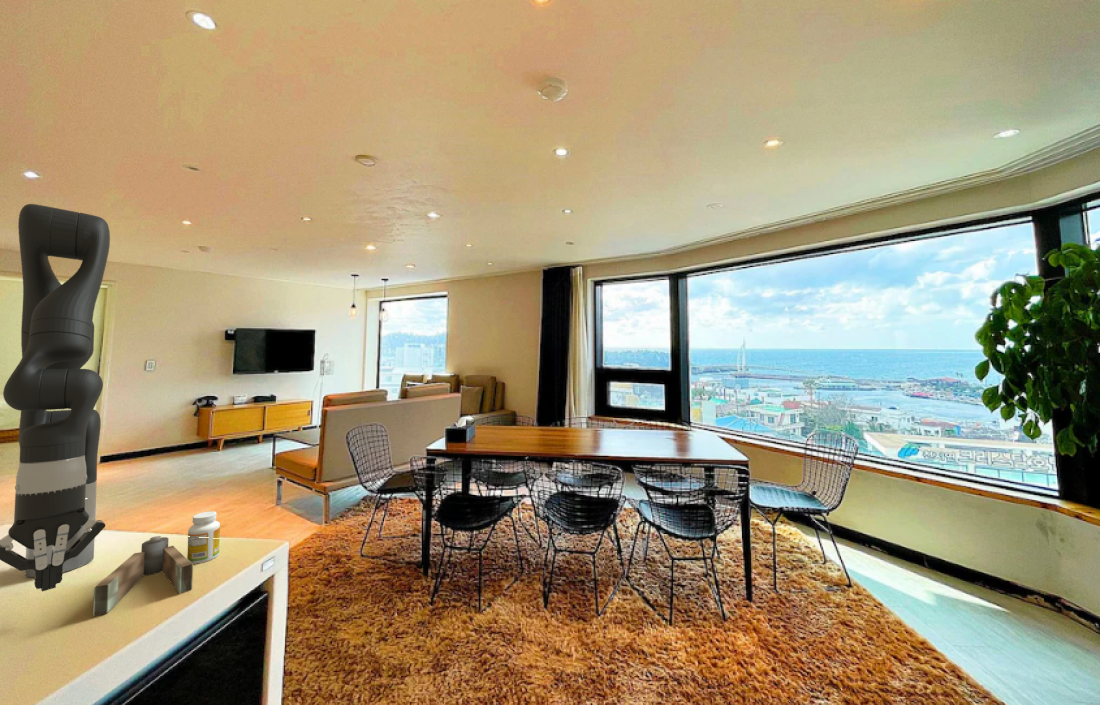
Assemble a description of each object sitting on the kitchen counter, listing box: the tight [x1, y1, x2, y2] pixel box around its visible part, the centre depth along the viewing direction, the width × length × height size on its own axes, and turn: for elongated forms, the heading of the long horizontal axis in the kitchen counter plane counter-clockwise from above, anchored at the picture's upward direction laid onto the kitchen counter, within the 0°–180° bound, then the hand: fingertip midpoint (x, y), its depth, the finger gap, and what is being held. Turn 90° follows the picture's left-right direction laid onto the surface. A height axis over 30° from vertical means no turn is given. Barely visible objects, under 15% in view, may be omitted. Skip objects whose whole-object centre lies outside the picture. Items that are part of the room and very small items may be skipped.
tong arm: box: [93, 551, 145, 617], centre depth 74 cm, size 13×2×5 cm, turn 26°
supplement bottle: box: [186, 511, 221, 564], centre depth 88 cm, size 5×5×10 cm
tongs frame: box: [140, 535, 194, 595], centre depth 79 cm, size 18×4×7 cm, turn 56°
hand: (47, 588), depth 67 cm, fingers closed
